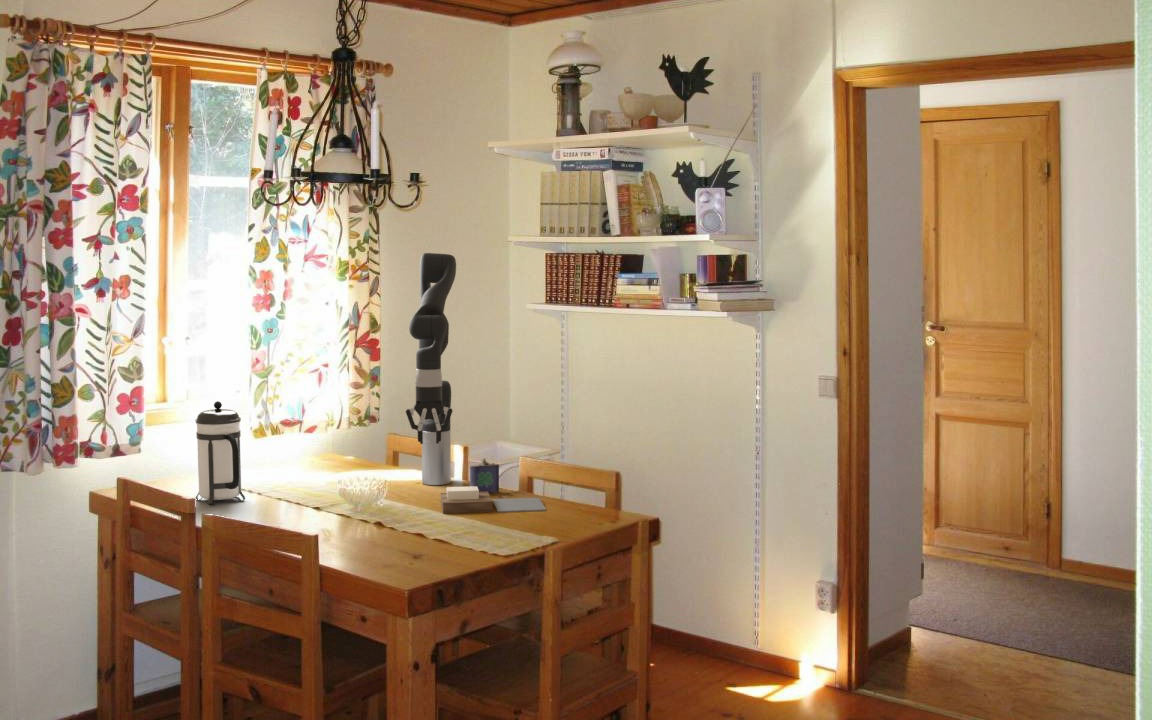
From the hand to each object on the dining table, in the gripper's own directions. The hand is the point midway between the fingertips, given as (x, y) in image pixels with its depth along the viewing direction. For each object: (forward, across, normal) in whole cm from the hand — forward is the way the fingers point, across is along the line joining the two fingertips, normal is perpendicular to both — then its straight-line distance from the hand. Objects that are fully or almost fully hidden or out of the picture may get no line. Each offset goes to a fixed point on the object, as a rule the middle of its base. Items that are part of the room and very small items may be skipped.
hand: (429, 443), depth 318 cm
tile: (+15, -10, 0) cm, 18 cm away
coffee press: (+19, +60, -19) cm, 66 cm away
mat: (+19, -26, 0) cm, 32 cm away
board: (+19, -10, 0) cm, 22 cm away
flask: (+20, -18, -19) cm, 32 cm away
